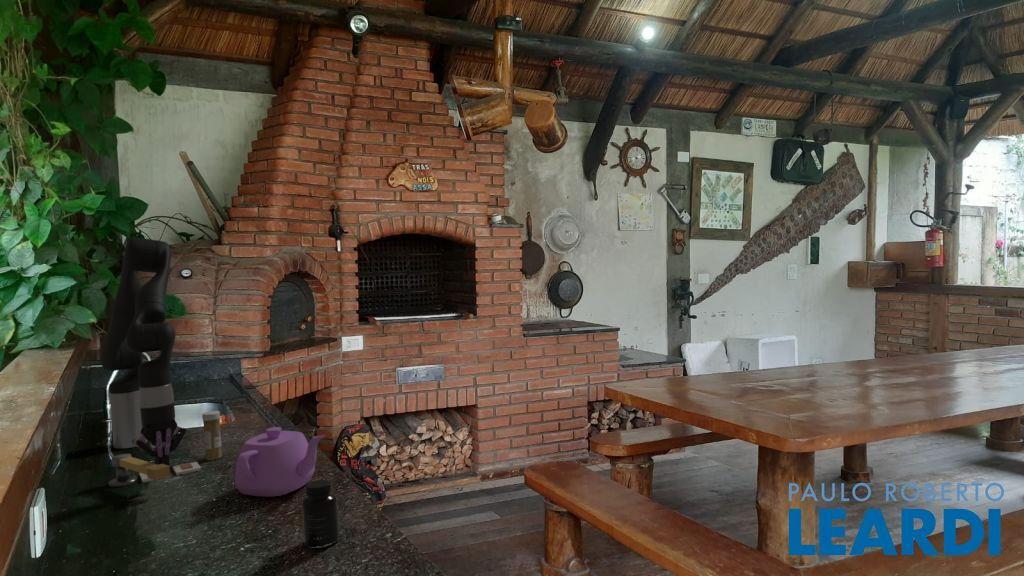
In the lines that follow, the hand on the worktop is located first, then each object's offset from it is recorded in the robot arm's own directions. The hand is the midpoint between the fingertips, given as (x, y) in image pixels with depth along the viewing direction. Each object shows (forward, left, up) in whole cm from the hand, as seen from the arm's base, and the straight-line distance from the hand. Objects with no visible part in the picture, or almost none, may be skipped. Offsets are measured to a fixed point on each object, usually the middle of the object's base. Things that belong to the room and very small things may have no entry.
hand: (162, 470), depth 163 cm
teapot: (+20, +23, -5) cm, 31 cm away
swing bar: (-4, -5, 0) cm, 6 cm away
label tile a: (-12, -1, -5) cm, 13 cm away
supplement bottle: (+57, +21, -5) cm, 61 cm away
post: (-12, -8, -5) cm, 15 cm away
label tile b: (-12, +7, -5) cm, 15 cm away
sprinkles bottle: (-18, +15, -5) cm, 24 cm away
